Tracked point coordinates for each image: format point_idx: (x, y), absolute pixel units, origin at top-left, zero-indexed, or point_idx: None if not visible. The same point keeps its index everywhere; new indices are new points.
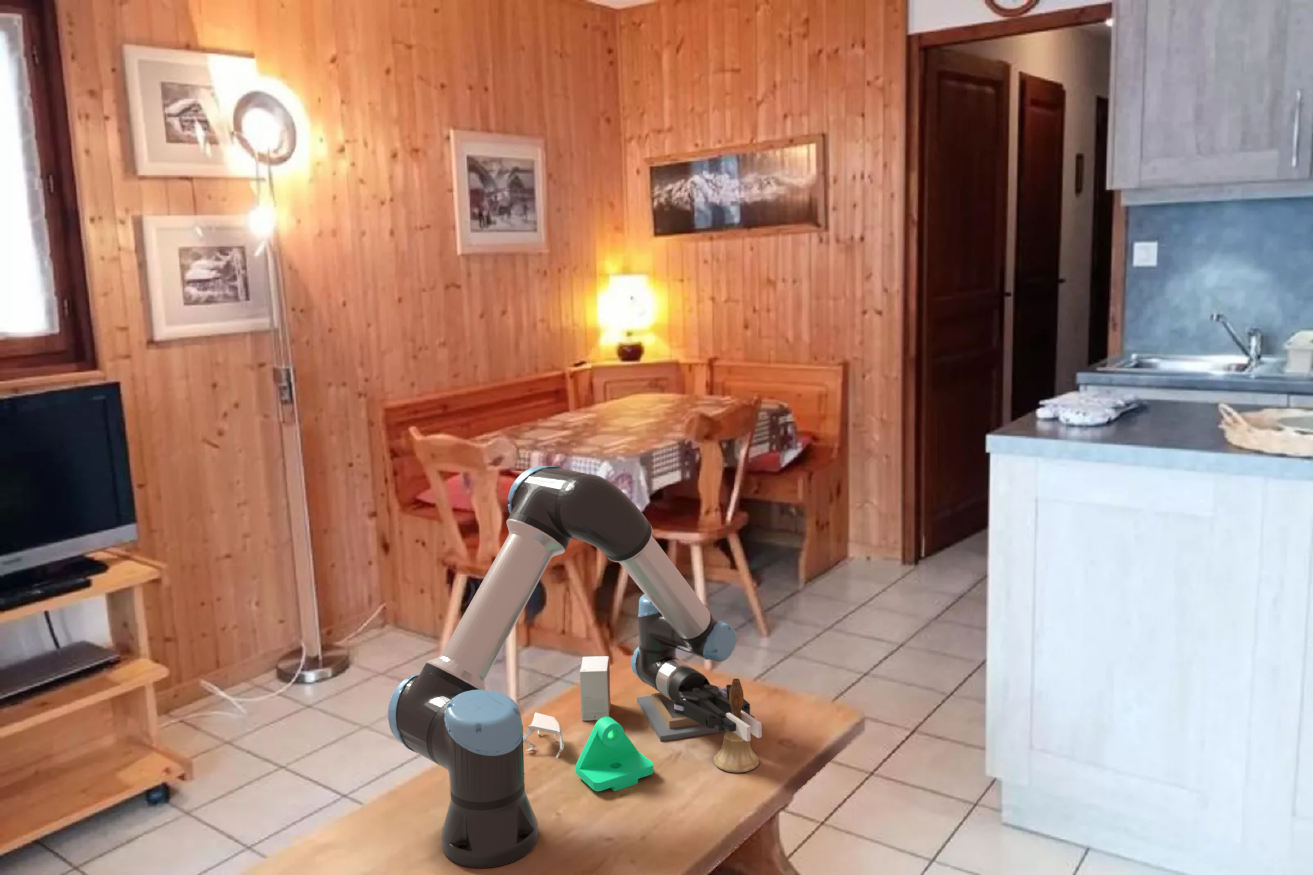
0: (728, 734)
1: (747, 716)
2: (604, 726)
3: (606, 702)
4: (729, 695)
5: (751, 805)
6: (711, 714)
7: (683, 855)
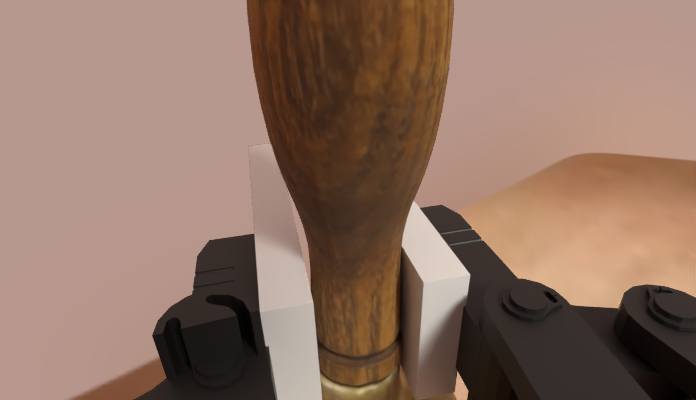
0: (434, 397)
1: (284, 200)
2: None
3: None
4: (452, 9)
5: None
6: (665, 292)
7: (598, 162)
